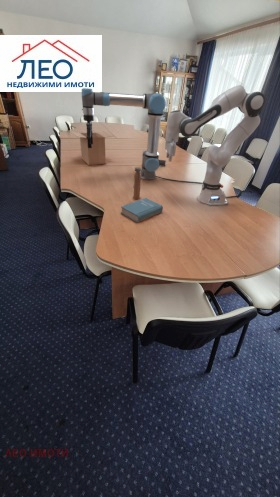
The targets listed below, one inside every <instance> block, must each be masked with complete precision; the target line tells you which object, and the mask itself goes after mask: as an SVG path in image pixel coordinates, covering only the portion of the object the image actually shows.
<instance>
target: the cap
mask: <svg viewBox="0 0 280 497" xmlns="http://www.w3.org/2000/svg"><path fill="white" fill-rule="evenodd" d="M141 169H142V167H135V168H134V171H135V172H136V171H137V172H141Z"/></svg>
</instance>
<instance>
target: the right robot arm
mask: <svg viewBox="0 0 280 497" xmlns="http://www.w3.org/2000/svg"><path fill="white" fill-rule="evenodd" d="M265 104H266V97H265V94H264V93H263V92H261V91H251V92H248V93H247V92H246V89H245V87H244V86H243V85H242V84H238V85H235V86H232V87H230V88H228V89H226V90H225V91H223V92H221V93H219V95H217V97H215V98H214V99H213V100H212V102H211V103H210V105H209V108H207V109H206V110H205V111H203V112H201V113H200V114H199V115H197V116H195V117H193V118H192V117H190V116H188V115H186V114H185V113H184V112H183V111H182V110H181V109H180V110H179V109H178V110H172V111H170V112H169V114H168V117H167V121H166V131H165V137H164V141H165V143H164V144H165V145H164V146H165V147H164V149H165V151H166V158H167V159H168V162H172V160H173V157H175V156H176V150H177V143H179V137H180V135H181V136H183V137H184V138H191V137H193V136H194V135H195V134H196V133H197V132H198V130H199V129H200V128H202V127H203V126H205V125H206V124H208V123H209V122H211V121H213V120H214V119H216V118H219V117H220V116H224V115H225V114H226V113H229V112H231V111H232V110H234V109H235V108H238V110H239V111H240V112H241V113H242V114H243V115H242V118H241V120H240V121H239V122H238V123H236V124H235V126H233V128H232V129H231V130H230V131H229V132H228V133H227V134H226V136H225V138H224V140H223V141H222V143H221V144H219V143H213V144H212V145H210V146H209V147H208V150H207V158H206V159H207V160H206V171H205V175H204V179H203V181H202V183H203V184H201V190H200V193H199V195H198V196H197V200H198V201H199V202H200V203H202V204H206V205H208V206H223V205H228V199H229V198H239V197H241V196H243V193H244V192H249V193H251V194H252V193H253V191H251V190H249V189H248V190H247V189H246V190H241V191H240V194H239V195H231V196H227V195H226V193H225V191H223V190H222V189H223V188H224V185H223V184H222V183H220V182H221V178H222V175H223V167H226V166H227V165H228V164H229V163H230V161H231V159H232V156H233V155H234V154H235V152H236V151H237V150H238V148H239V147H240V146H241V145H242V144H243V143H244V142H246V140H247V139H248V138H249V137H250V136H251V135H252V134H253V133H254V132H255V131H256V129H257V128H258V126H260V123H261V117H260V115H261V113H262V112H263V108H264V106H265Z"/></svg>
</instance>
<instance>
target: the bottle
mask: <svg viewBox="0 0 280 497" xmlns="http://www.w3.org/2000/svg"><path fill="white" fill-rule="evenodd" d="M140 172H141V171H140ZM140 172H137V171H135V172H134V174H133V175H134V177H133V197H132V198H133V199H134V200H140V197H141V182H142V179H141V173H140Z"/></svg>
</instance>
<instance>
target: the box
mask: <svg viewBox="0 0 280 497" xmlns="http://www.w3.org/2000/svg"><path fill="white" fill-rule="evenodd" d="M92 132H93V135H92V136H93V144H92V148H88V140H87V139H86V137H87V130H77V132H76V131H70V133H71V134H72V135H74V136H75V137H77V138H79V144H80V153H81V160H83V162H85V163H86V165H87V166H95V165H97V166H98V165H106V163H107V162H106V158H107V157H106V138H113V137H114V136H113V135H111V134H109V133H108V132H105V131H98V132H96V131H95V130H93V129H92Z"/></svg>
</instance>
